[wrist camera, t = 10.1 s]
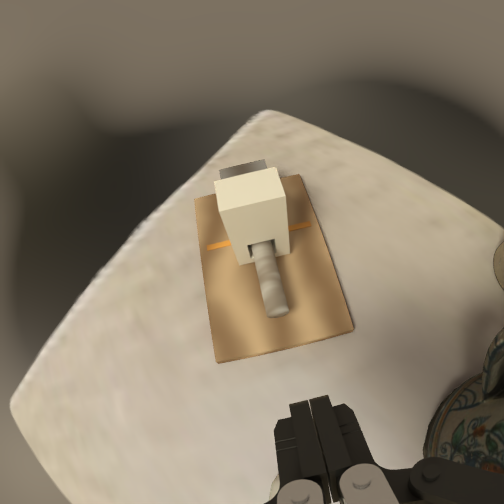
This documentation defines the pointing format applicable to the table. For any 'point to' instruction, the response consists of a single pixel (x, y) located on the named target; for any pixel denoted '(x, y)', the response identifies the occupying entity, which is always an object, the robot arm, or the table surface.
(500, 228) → the table surface
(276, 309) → the pipe stand
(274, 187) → the sleeve
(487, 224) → the table surface
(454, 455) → the beer stein
